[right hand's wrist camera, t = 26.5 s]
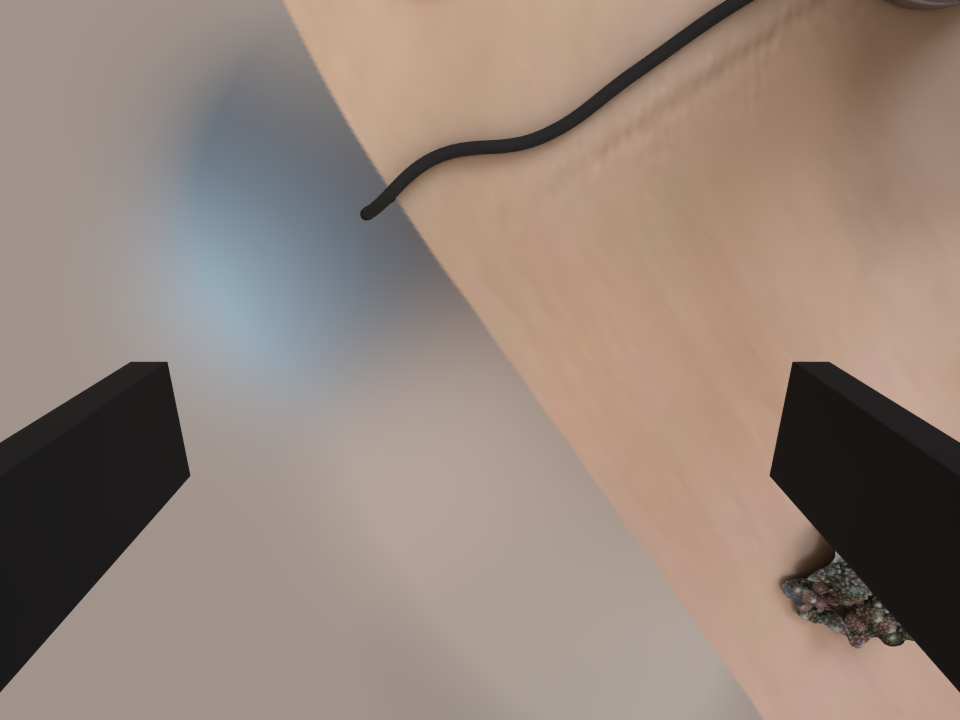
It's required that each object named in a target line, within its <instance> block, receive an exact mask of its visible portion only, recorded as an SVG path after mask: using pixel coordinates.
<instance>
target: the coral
mask: <svg viewBox="0 0 960 720" xmlns="http://www.w3.org/2000/svg"><path fill="white" fill-rule="evenodd" d="M808 577H809V578H807V579H804V578H802V579H793V580H789V581H786V582H785V583H784V584H783V586H782V588H783V589H784V592H785V594H786V595H787V597H789V598H791V599H792V600H794V601H796V602H797V603H798V604H797V613H798V615H799V616H801V617H802V618H804V619H806V620H809V621H812V622H813V623H821V624H826V625H827V626H828V627H829V628H831V629H832V630H834V631H837V632H839V633H840V634H843V635H845V636H847V637H848V640H849V643H850V644H851V645H852V646H853V647H854V648H861V647H862V646H863V645H864V644H865V643H866V642H867V641H868V640H869V639H870V638H872V637H878V638H879V639H881V641H882V642H883V643H884V644H886V645H888V646H899V645H902V644H903V643H904V641H905V640H911V641H914V640H913V638H912V637H911V636H910V635H909V634H908V633H907V632H906V631H905V629H904V628H903V627H902V626H901V625H900V624H899V623H898V621H897V620H896V619H895V618H894V617H893V616H892V615H891V613H890V612H889V611H888V610H887V609H886V608H885V607H884V605H883V604H882V603H881V602H880V601H879V600H878V599H877V597H876V596H875V595H874V594H873V593H872V592H871V591H870V590H869V588H868V587H867V586H866V585H865V584H864V583H863V582H862V580H861V579H860V578H859V577H858V576H857V575H856V574H855V572H854V571H853V570H852V569H851V568H850V567H849V566H848V564H847V563H846V562H845V561H844V560H843V559H842V558H841V556H840V555H839V554H838V553H837V552H835V559H834V560H833V561H832V562H831V564H830V565H827V566H826V567H824V568H822V569H820V570H817V571H816V572H814V573H813V574H812V575H810V576H808Z"/></svg>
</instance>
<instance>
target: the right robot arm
mask: <svg viewBox="0 0 960 720" xmlns="http://www.w3.org/2000/svg"><path fill="white" fill-rule="evenodd" d="M752 1H753V0H726V1H724V2H723V3H721V4H720V5H718V6H717V7H715V8H714V9H712V10H711V11H709V12H708V13H706V14H705V15H703V16H702V17H700V18H699V19H698V20H696V21H695V22H693V23H692V24H690V25H689V26H688V27H686V28H685V29H683V30H682V31H681V32H679V33H678V34H676V35H675V36H674V37H672V38H671V39H670V40H668V41H667V42H665V43H664V44H663V45H661V46H660V47H659V48H657V49H656V50H654V51H653V52H652V53H650V54H649V55H647V56H646V57H645V58H643V59H642V60H640V61H639V62H638V63H636V64H635V65H633V66H632V67H630V68H629V69H628V70H626V71H625V72H623V73H622V74H621V75H619V76H618V77H617V78H615V79H614V80H613V81H612V82H610V83H609V84H608V85H606V86H605V87H604V88H603V89H601V90H600V91H599V92H598V93H596V94H595V95H594V96H593V97H592V98H590V99H589V100H588V101H586V102H585V103H584V104H583V105H581V106H580V107H579V108H577V109H576V110H575V111H573V112H572V113H570V114H569V115H567V116H566V117H564V118H563V119H561V120H559V121H557V122H556V123H554V124H552V125H550V126H548V127H546V128H544V129H542V130H539V131H537V132H534V133H532V134H529V135H525V136H521V137H517V138H511V139H503V140H487V141H473V142H464V143H458V144H453V145H449V146H446V147H443V148H440V149H438V150H435V151H433V152H431V153H429V154H427V155H425V156H423V157H422V158H420V159H418V160H417V161H416V162H414V163H413V164H411V165H410V166H409V167H408V168H407V169H405V170H404V171H403V172H402V173H401V174H400V175H399V176H398V177H397V178H396V179H395V180H394V181H393V182H392V183H391V184H390V185H389V186H388V187H387V188H386V189H385V190H384V192H383V193H382V194H381V195H380V196H379V197H378V198H377V199H375V200H374V201H373V202H372V203H371V204H370V205H368V206H366V207H364V208H363V209H362V210H361V211H360V216H361V218H362V219H363V220H365V221H367V220H371V219H372V218H374V217H375V216H376V215H378V214H379V213H380V212H381V211H383V210H384V209H385V208H386V207H387V206H388V205H389V204H391V203H392V202H394V201H395V199H396V197H397V196H398V195H399V194H400V193H401V192H402V191H403V190H404V188H405V187H407V186H408V185H409V184H410V183H411V182H412V181H413V180H414V179H415V178H416V177H418V176H419V175H420V174H421V173H423V172H424V171H426V170H427V169H429V168H431V167H432V166H434V165H436V164H439V163H441V162H443V161H446V160H449V159H452V158H457V157H461V156H468V155H479V154H496V153H508V152H515V151H520V150H525V149H529V148H532V147H535V146H538V145H541V144H543V143H545V142H548V141H550V140H552V139H554V138H556V137H558V136H560V135H562V134H563V133H565V132H567V131H569V130H570V129H572V128H573V127H575V126H576V125H578V124H579V123H581V122H582V121H584V120H585V119H586V118H588V117H589V116H590V115H592V114H593V113H594V112H596V111H597V110H598V109H599V108H601V107H602V106H603V105H604V104H606V103H607V102H608V101H609V100H611V99H612V98H613V97H614V96H616V95H617V94H618V93H620V92H621V91H622V90H623V89H625V88H626V87H627V86H629V85H630V84H632V83H633V82H634V81H636V80H637V79H639V78H640V77H642V76H643V75H644V74H646V73H647V72H649V71H650V70H652V69H653V68H654V67H656V66H657V65H659V64H660V63H661V62H663V61H664V60H666V59H667V58H668V57H670V56H671V55H673V54H674V53H675V52H677V51H678V50H680V49H681V48H682V47H684V46H685V45H686V44H688V43H689V42H691V41H692V40H694V39H695V38H696V37H698V36H699V35H701V34H702V33H703V32H705V31H706V30H708V29H709V28H711V27H712V26H714V25H715V24H717V23H718V22H720V21H721V20H723V19H724V18H726V17H727V16H729V15H731V14H732V13H734V12H735V11H737V10H738V9H740V8H742V7H743V6H745V5H747V4H748V3H750V2H752ZM886 1H888V2H890V3H892V4H895V5H898V6H901V7H905V8H910V9H920V10H928V9H939V8H945V7H949V6H953V5H957V4H960V0H886ZM189 477H190V471H189V467H188V462H187V457H186V452H185V447H184V442H183V437H182V432H181V427H180V422H179V417H178V412H177V407H176V402H175V397H174V392H173V387H172V382H171V378H170V372H169V367H168V363H167V362H130V363H128V364H127V365H125V366H123V367H122V368H120V369H119V370H117V371H115V372H114V373H112V374H110V375H109V376H107V377H106V378H104V379H102V380H101V381H99V382H98V383H96V384H94V385H93V386H91V387H89V388H88V389H86V390H85V391H83V392H81V393H80V394H78V395H76V396H75V397H73V398H72V399H70V400H68V401H67V402H65V403H64V404H62V405H60V406H59V407H57V408H56V409H54V410H52V411H51V412H49V413H47V414H46V415H44V416H43V417H41V418H39V419H38V420H36V421H34V422H33V423H31V424H30V425H28V426H26V427H25V428H23V429H22V430H20V431H18V432H17V433H15V434H13V435H12V436H10V437H9V438H7V439H5V440H4V441H2V442H0V692H1V691H2V690H3V689H4V687H5V686H6V685H7V684H8V683H9V682H10V681H11V679H12V678H13V677H14V676H15V675H16V674H17V673H18V672H19V670H20V669H21V668H22V667H23V666H24V665H25V664H26V662H27V661H28V660H29V659H30V658H31V657H32V656H33V654H34V653H35V652H36V651H37V650H38V649H39V648H40V646H41V645H42V644H43V643H44V642H45V641H46V640H47V638H48V637H49V636H50V635H51V634H52V633H53V632H54V630H55V629H56V628H57V627H58V626H59V625H60V624H61V623H62V621H63V620H64V619H65V618H66V617H67V616H68V615H69V613H70V612H71V611H72V610H73V609H74V608H75V607H76V605H77V604H78V603H79V602H80V601H81V600H82V599H83V597H84V596H85V595H86V594H87V593H88V592H89V591H90V589H91V588H92V587H93V586H94V585H95V584H96V583H97V581H98V580H99V579H100V578H101V577H102V576H103V575H104V574H105V572H106V571H107V570H108V569H109V568H110V567H111V566H112V564H113V563H114V562H115V561H116V560H117V559H118V558H119V556H120V555H121V554H122V553H123V552H124V551H125V550H126V548H127V547H128V546H129V545H130V544H131V543H132V542H133V540H134V539H135V538H136V537H137V536H138V535H139V534H140V532H141V531H142V530H143V529H144V528H145V527H146V526H147V525H148V523H149V522H150V521H151V520H152V519H153V518H154V517H155V515H156V514H157V513H158V512H159V511H160V510H161V509H162V508H163V506H164V505H165V504H166V503H167V502H168V501H169V500H170V498H171V497H172V496H173V495H174V494H175V493H176V492H177V490H178V489H179V488H180V487H181V486H182V485H183V484H184V482H185V481H186V480H187V479H188V478H189ZM770 477H771V478H772V479H773V480H774V481H775V482H776V484H777V485H778V486H779V487H780V488H781V489H782V490H783V492H784V493H785V494H786V495H787V496H788V497H789V498H790V500H791V501H792V502H793V503H794V504H795V505H796V506H797V508H798V509H799V510H800V511H801V512H802V513H803V514H804V515H805V517H806V518H807V519H808V520H809V521H810V522H811V523H812V525H813V526H814V527H815V528H816V529H817V530H818V531H819V533H820V534H821V535H822V536H823V537H824V538H825V539H826V541H827V542H828V543H829V544H830V545H831V546H832V547H833V549H834V550H835V551H836V552H837V553H838V554H839V555H840V556H841V558H842V559H843V560H844V561H845V562H846V563H847V564H848V566H849V567H850V568H851V569H852V570H853V571H854V572H855V574H856V575H857V576H858V577H859V578H860V579H861V580H862V582H863V583H864V584H865V585H866V586H867V587H868V588H869V590H870V591H871V592H872V593H873V594H874V595H875V596H876V597H877V599H878V600H879V601H880V602H881V603H882V604H883V605H884V607H885V608H886V609H887V610H888V611H889V612H890V613H891V615H892V616H893V617H894V618H895V619H896V620H897V621H898V623H899V624H900V625H901V626H902V627H903V628H904V629H905V631H906V632H907V633H908V634H909V635H910V636H911V637H912V638H913V640H914V641H915V642H916V643H917V644H918V645H919V646H920V648H921V649H922V650H923V651H924V652H925V653H926V654H927V656H928V657H929V658H930V659H931V660H932V661H933V662H934V664H935V665H936V666H937V667H938V668H939V669H940V670H941V672H942V673H943V674H944V675H945V676H946V677H947V678H948V679H949V681H950V682H951V683H952V684H953V685H954V686H955V687H956V689H957V690H958V691H959V692H960V442H958V441H956V440H955V439H953V438H951V437H950V436H948V435H947V434H945V433H943V432H942V431H940V430H938V429H937V428H935V427H934V426H932V425H930V424H929V423H927V422H926V421H924V420H922V419H921V418H919V417H917V416H916V415H914V414H913V413H911V412H909V411H908V410H906V409H905V408H903V407H901V406H900V405H898V404H896V403H895V402H893V401H892V400H890V399H888V398H887V397H885V396H884V395H882V394H880V393H879V392H877V391H875V390H874V389H872V388H871V387H869V386H867V385H866V384H864V383H862V382H861V381H859V380H858V379H856V378H854V377H853V376H851V375H850V374H848V373H846V372H845V371H843V370H841V369H840V368H838V367H837V366H835V365H833V364H832V363H830V362H793V363H792V367H791V372H790V377H789V382H788V387H787V392H786V397H785V402H784V407H783V412H782V417H781V422H780V427H779V432H778V437H777V442H776V447H775V452H774V457H773V462H772V467H771V471H770Z"/></svg>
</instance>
